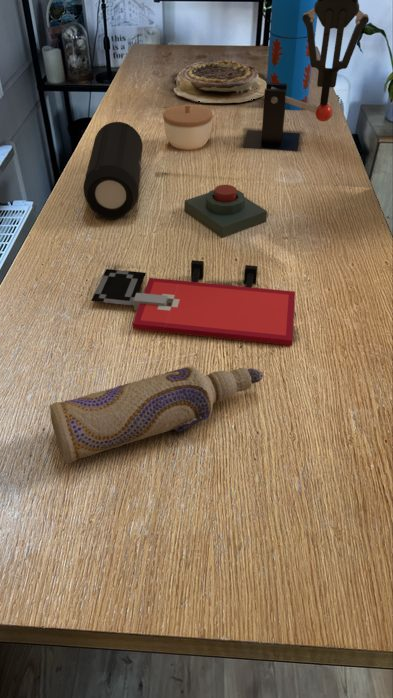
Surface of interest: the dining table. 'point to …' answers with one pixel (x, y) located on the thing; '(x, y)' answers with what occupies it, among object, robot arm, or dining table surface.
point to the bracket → (273, 123)
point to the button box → (225, 213)
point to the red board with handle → (203, 306)
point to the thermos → (290, 48)
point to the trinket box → (187, 126)
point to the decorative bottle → (142, 409)
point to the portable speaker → (114, 170)
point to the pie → (219, 82)
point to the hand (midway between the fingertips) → (323, 102)
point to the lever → (311, 108)
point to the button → (225, 193)
